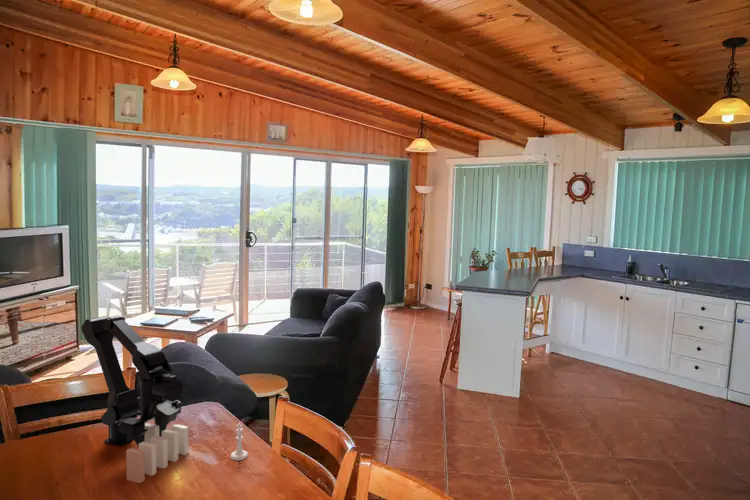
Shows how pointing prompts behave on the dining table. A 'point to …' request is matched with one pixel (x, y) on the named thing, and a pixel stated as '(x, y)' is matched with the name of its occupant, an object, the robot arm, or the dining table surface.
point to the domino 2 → (151, 431)
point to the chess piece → (239, 446)
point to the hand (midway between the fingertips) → (151, 445)
